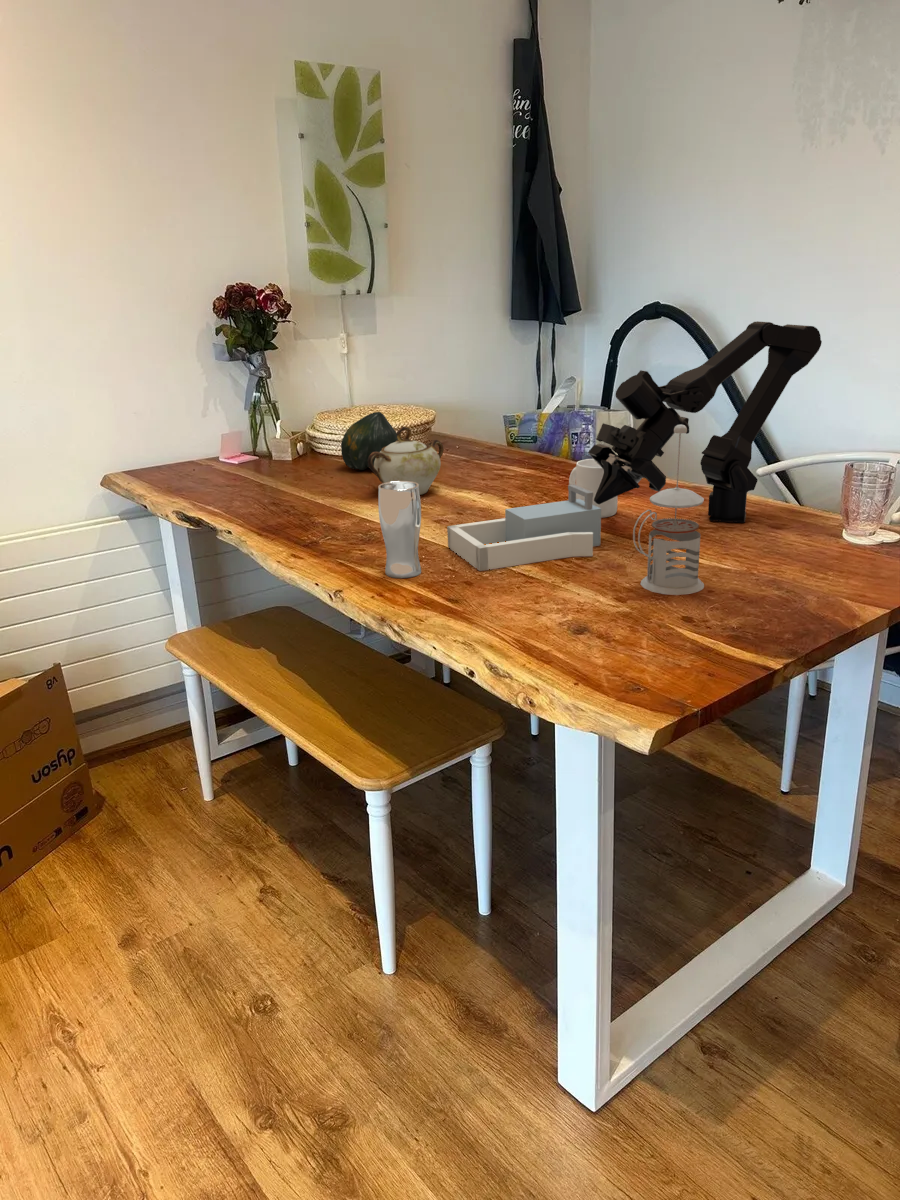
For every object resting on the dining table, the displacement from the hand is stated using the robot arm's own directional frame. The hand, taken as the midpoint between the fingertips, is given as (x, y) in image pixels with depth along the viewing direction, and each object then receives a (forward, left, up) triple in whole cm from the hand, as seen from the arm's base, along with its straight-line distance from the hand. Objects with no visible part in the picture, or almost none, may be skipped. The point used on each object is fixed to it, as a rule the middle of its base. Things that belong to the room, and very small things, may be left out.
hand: (596, 502), depth 164 cm
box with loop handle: (+7, +6, -7) cm, 11 cm away
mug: (+5, -19, -7) cm, 21 cm away
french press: (-15, +22, -7) cm, 28 cm away
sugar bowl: (+48, -27, -7) cm, 55 cm away
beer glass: (+28, +26, -7) cm, 39 cm away
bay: (+12, +10, -7) cm, 17 cm away
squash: (+67, -50, -7) cm, 83 cm away
